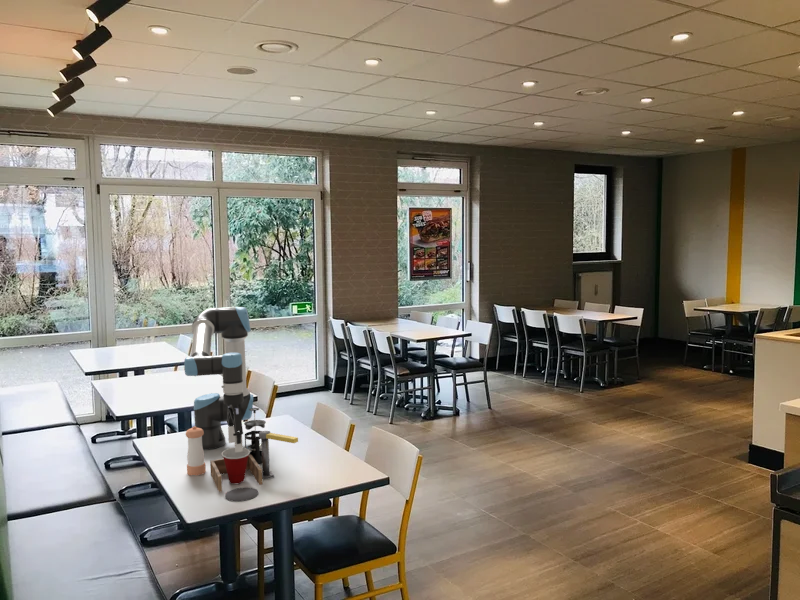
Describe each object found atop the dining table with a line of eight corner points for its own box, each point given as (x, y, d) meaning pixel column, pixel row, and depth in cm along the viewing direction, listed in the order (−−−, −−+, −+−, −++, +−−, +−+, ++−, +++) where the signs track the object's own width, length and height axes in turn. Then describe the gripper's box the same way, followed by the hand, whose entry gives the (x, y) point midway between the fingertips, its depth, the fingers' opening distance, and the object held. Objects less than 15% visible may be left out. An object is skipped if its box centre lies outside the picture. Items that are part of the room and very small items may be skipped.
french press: (269, 463, 274) (267, 410, 272) (247, 466, 270) (245, 412, 268) (264, 455, 285) (262, 403, 283) (243, 458, 281) (240, 406, 279)
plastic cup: (228, 488, 246) (227, 458, 245) (218, 480, 255) (217, 450, 254) (255, 482, 252) (254, 452, 251) (244, 474, 261) (243, 445, 260)
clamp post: (258, 475, 260) (257, 437, 258) (271, 473, 262) (269, 436, 260) (261, 479, 255) (259, 441, 254) (273, 477, 257) (272, 439, 256)
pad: (222, 492, 243) (222, 490, 243) (254, 486, 248) (254, 485, 247) (228, 503, 232) (228, 502, 232) (261, 497, 237) (261, 496, 237)
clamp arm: (292, 444, 247) (292, 439, 247) (256, 438, 256) (256, 433, 256) (299, 441, 251) (299, 436, 250) (264, 435, 260) (264, 430, 260)
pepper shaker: (204, 474, 262) (202, 428, 260) (185, 476, 260) (183, 429, 259) (206, 468, 269) (204, 423, 267) (188, 470, 268) (186, 424, 266)
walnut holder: (210, 475, 261) (210, 460, 261) (251, 468, 268) (251, 454, 268) (218, 492, 243) (218, 476, 242) (262, 484, 250) (261, 469, 249)
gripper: (218, 388, 260) (220, 440, 262) (229, 400, 238) (231, 457, 239) (237, 386, 263) (239, 437, 265) (249, 398, 241) (251, 454, 242)
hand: (235, 446), depth 252 cm, fingers open, 13 cm apart
